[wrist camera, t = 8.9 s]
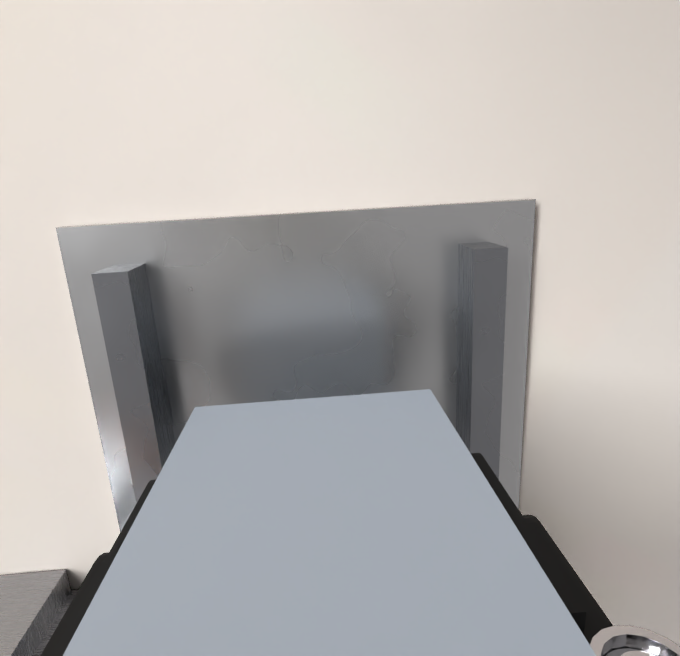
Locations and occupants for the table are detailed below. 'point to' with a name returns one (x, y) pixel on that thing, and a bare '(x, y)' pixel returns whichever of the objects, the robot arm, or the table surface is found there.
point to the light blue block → (325, 543)
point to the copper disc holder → (31, 610)
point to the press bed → (303, 321)
